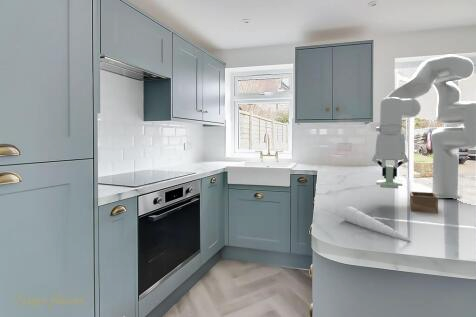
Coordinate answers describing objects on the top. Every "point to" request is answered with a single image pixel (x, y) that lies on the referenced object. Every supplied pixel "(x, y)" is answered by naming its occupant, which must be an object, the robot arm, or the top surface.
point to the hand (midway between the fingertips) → (389, 177)
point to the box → (423, 202)
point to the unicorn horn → (369, 223)
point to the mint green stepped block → (389, 179)
